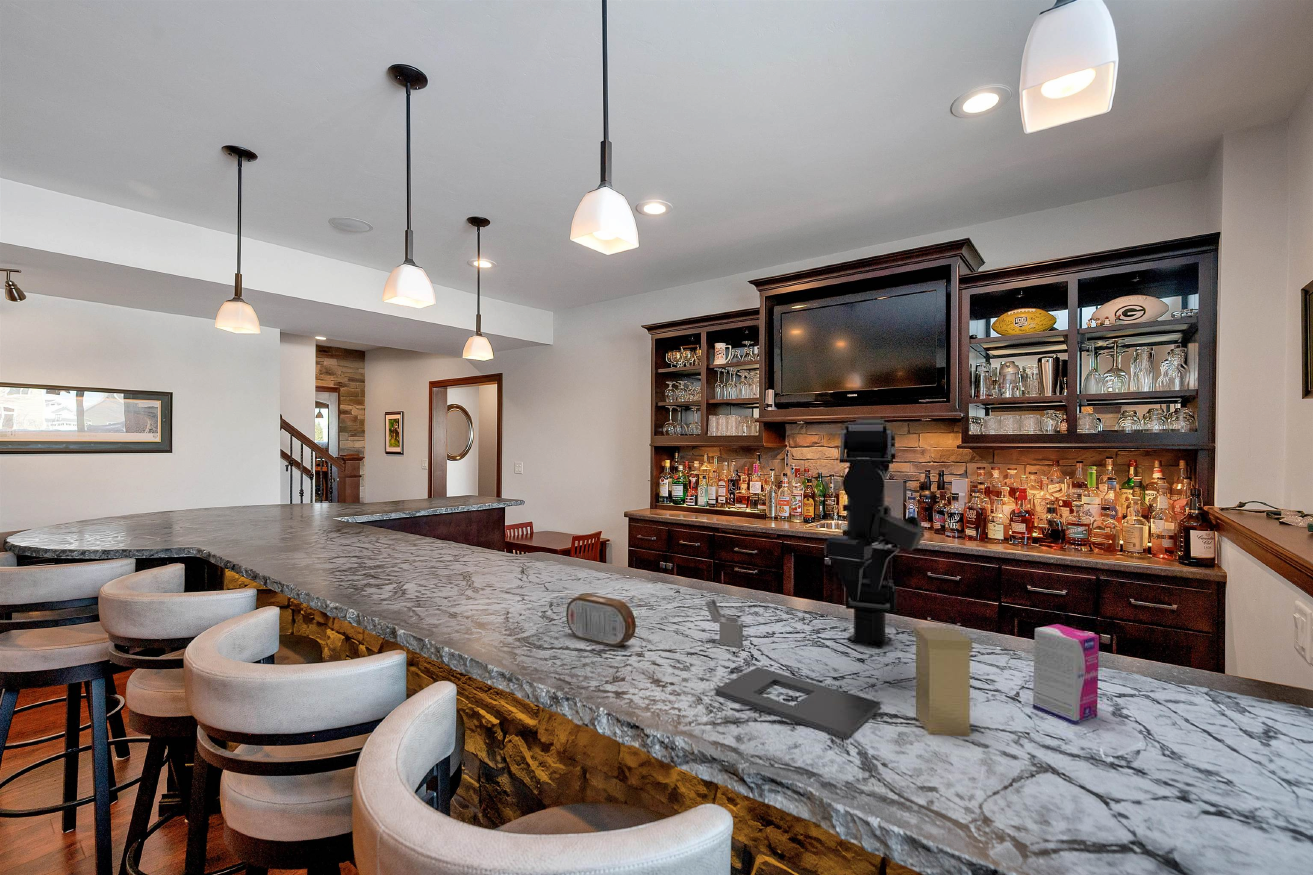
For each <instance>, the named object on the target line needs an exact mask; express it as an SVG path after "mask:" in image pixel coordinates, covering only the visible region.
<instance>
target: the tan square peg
mask: <svg viewBox="0 0 1313 875" xmlns="http://www.w3.org/2000/svg"><path fill="white" fill-rule="evenodd" d="M913 636H914V638H915V718H916V719H917V720H918V721H919V723H920V724H921V726H923V728H924V729H925V731H926V732H927V734H928V735H936V736H938V735H939V736H954V737H969V736H970V737H971V709H970V708H971V690H970V689H971V665H970V664H971V651H973V640H972V639H970V638H968V637H967V636H966V635H965V634H963V633H962V632H960V631H959V630H958V629H957V628H954V627H929V626H925V627H924V626H913Z"/></svg>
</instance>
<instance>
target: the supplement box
mask: <svg viewBox="0 0 1313 875" xmlns="http://www.w3.org/2000/svg"><path fill="white" fill-rule="evenodd" d="M1099 647H1100V636H1099V635H1098V634H1095V633H1092V632H1088V631H1084V630H1079V629H1075V628H1074V627H1069V626H1067V625H1066V626H1065V625H1062V624H1059V623H1056V624H1052V625H1046V626H1042V627H1041V626H1040V627H1036V628H1034V647H1033V648H1034V649H1033V650H1034V651H1033V685H1032V686H1033V688H1032V706H1031V708H1032V709H1033V708H1034V710H1036V711H1038V710H1040V711H1039V712H1041V711H1042V712H1041V713H1043V712H1045V713H1044V714H1046V713H1048V714H1047V715H1049V714H1051V715H1053V716H1052V717H1054V716H1056V717H1058V718H1057V719H1059V718H1060V719H1059V720H1061V719H1063V720H1062V721H1064V720H1065V721H1064V722H1066V721H1067V723H1070V724H1073V725H1077V724H1078V723H1081V722H1084V721H1086V720H1089V719H1093V718H1096V717H1098V700H1099V699H1098V698H1099V696H1098V695H1099V693H1098V692H1099V691H1098V690H1099V661H1100V660H1099V656H1100V654H1099V653H1100V652H1099V651H1100V650H1099V649H1100V648H1099ZM1051 715H1050V716H1051ZM1056 717H1055V718H1056Z"/></svg>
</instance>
